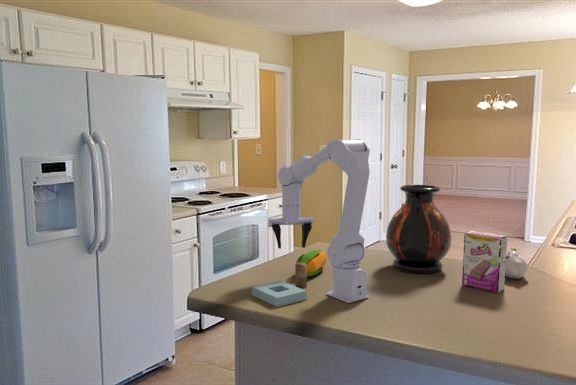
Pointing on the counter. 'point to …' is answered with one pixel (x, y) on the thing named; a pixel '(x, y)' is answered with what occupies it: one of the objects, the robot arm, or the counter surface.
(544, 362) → the counter surface
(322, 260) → the corn
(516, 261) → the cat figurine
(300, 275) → the peg
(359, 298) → the robot arm
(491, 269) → the candy bar box
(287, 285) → the board
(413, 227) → the black and orange vase
